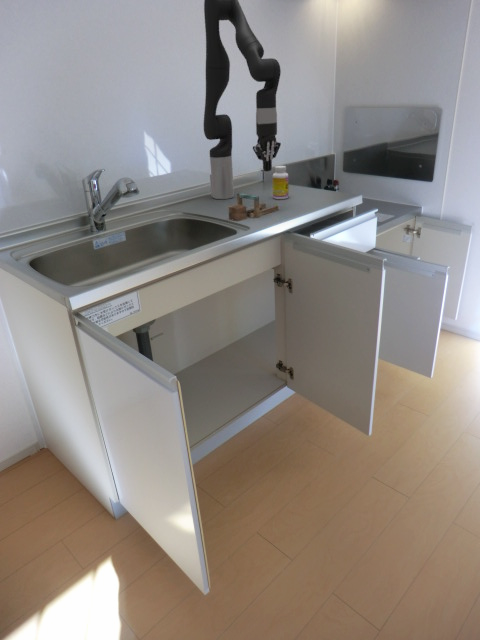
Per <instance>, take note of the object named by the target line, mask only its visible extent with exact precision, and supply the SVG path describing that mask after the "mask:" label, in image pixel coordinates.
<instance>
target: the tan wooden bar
mask: <svg viewBox="0 0 480 640" xmlns="http://www.w3.org/2000/svg"><path fill="white" fill-rule="evenodd" d="M259 210H263V208H262V206H259ZM253 212H254V205H252V206H248V207H246V214H247V218H250V213H253Z"/></svg>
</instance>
